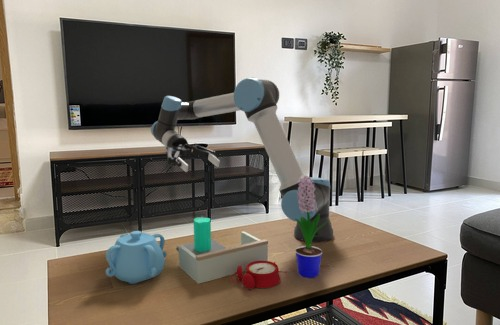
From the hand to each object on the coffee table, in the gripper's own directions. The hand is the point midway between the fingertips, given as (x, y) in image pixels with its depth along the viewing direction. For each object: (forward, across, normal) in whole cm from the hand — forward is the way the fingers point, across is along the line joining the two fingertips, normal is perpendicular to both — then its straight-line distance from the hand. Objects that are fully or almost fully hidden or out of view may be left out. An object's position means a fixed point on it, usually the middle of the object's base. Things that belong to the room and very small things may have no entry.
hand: (203, 166), depth 137 cm
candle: (+16, +6, -24) cm, 29 cm away
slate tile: (+16, +6, -25) cm, 30 cm away
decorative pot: (+19, +32, -23) cm, 44 cm away
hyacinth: (+51, -8, -13) cm, 53 cm away
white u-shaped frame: (+30, +8, -20) cm, 37 cm away
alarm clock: (+44, +7, -15) cm, 47 cm away
